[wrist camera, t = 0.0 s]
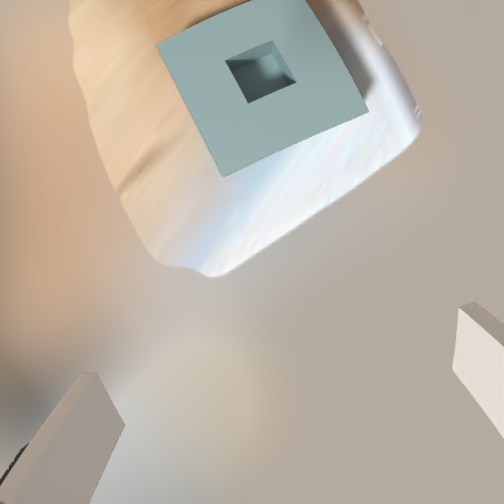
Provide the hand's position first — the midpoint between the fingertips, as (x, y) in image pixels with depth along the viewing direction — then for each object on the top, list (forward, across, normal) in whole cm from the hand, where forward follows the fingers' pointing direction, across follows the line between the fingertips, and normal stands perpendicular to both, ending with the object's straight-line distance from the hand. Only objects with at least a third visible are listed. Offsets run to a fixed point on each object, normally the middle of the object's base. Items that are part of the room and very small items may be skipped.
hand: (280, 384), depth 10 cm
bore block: (+28, +3, +16) cm, 33 cm away
